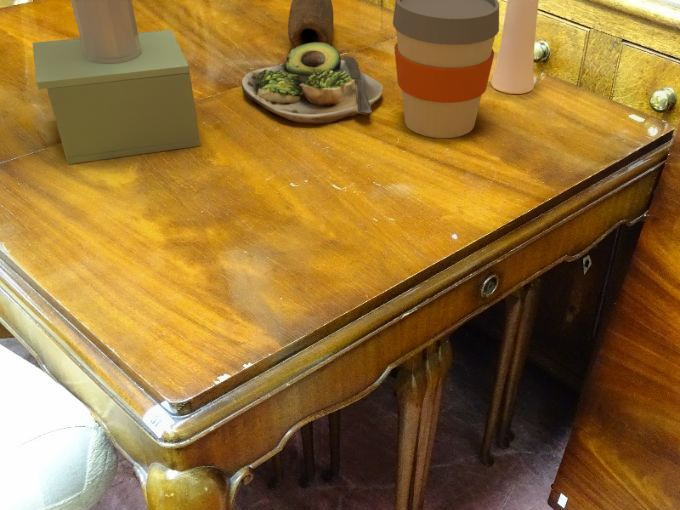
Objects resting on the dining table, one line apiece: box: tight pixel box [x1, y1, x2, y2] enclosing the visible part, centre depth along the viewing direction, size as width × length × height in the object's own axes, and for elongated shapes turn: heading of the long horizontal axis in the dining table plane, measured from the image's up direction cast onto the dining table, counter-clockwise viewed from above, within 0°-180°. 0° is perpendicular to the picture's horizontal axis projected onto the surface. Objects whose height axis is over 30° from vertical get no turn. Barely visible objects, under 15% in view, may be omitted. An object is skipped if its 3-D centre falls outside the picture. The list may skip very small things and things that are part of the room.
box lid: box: [32, 29, 191, 90], centre depth 86 cm, size 15×12×1 cm
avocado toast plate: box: [241, 42, 384, 125], centre depth 101 cm, size 19×18×5 cm
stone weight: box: [287, 0, 334, 49], centre depth 116 cm, size 15×7×7 cm, turn 9°
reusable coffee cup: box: [392, 0, 500, 139], centre depth 94 cm, size 13×13×15 cm
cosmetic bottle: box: [490, 0, 539, 95], centre depth 102 cm, size 6×6×22 cm
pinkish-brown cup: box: [70, 0, 141, 64], centre depth 83 cm, size 6×6×10 cm
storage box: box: [46, 72, 202, 165], centre depth 89 cm, size 15×12×9 cm
